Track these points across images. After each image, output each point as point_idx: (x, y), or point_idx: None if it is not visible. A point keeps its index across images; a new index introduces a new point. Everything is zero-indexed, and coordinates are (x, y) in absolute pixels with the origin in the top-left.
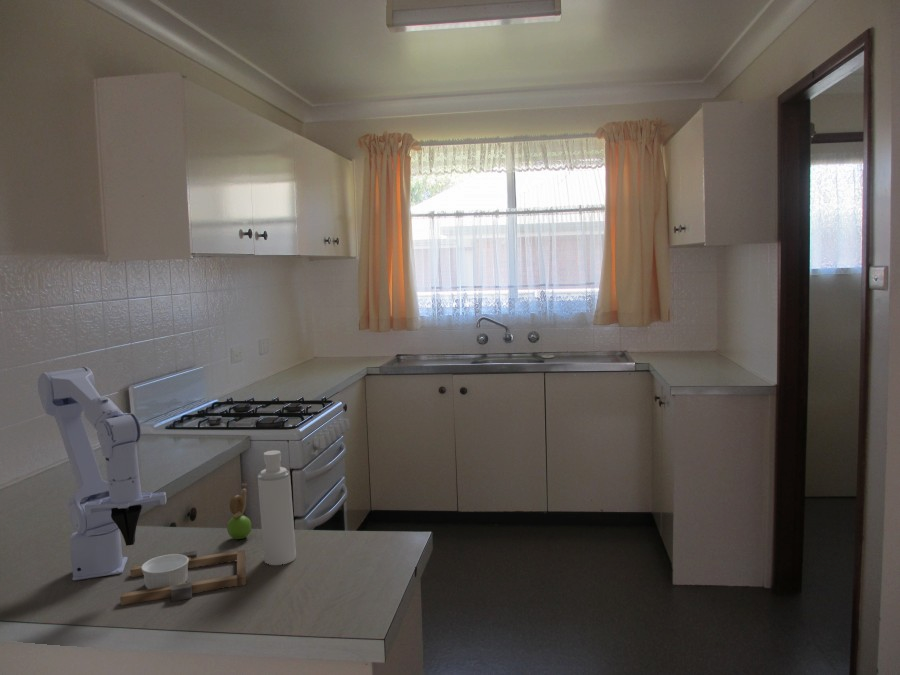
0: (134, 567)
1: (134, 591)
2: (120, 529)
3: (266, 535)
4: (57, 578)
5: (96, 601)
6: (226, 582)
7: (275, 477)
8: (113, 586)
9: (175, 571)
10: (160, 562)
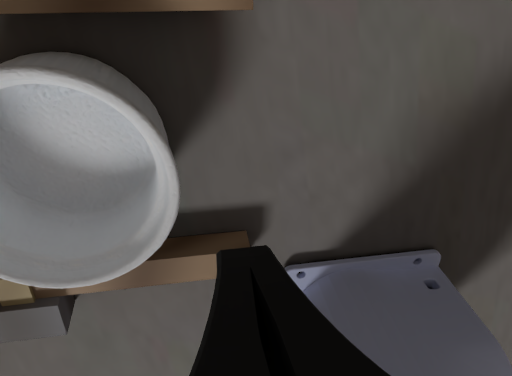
0: None
1: (188, 8)
2: (342, 338)
3: None
4: (475, 277)
5: (358, 50)
6: None
7: None
8: (302, 174)
9: None
10: (109, 247)
